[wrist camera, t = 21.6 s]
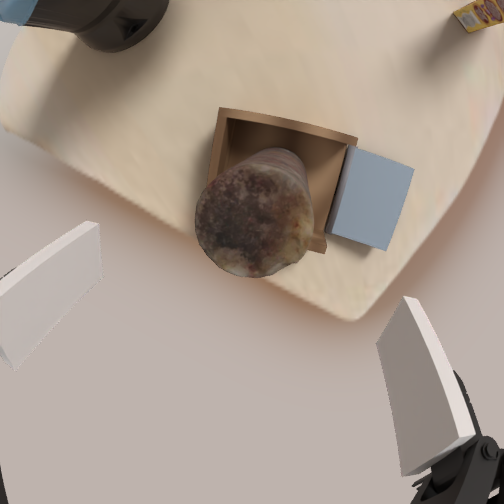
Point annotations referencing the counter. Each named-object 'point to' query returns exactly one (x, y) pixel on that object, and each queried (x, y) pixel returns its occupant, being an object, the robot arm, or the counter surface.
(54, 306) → the robot arm
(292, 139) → the box
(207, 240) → the candle
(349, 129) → the counter surface
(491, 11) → the candy box
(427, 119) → the counter surface
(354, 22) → the counter surface
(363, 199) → the panel
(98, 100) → the counter surface
